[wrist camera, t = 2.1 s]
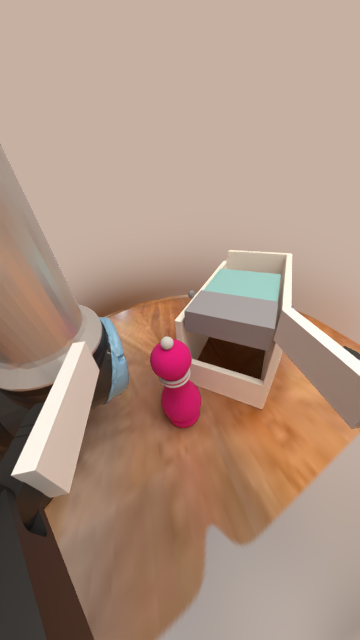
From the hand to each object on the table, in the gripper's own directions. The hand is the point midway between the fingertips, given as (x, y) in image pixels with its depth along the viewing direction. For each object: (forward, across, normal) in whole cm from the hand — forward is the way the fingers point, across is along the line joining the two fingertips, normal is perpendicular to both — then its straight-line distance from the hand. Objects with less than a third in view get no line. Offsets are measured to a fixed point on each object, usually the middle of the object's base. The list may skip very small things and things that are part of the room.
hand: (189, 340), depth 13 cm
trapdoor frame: (+27, +17, -28) cm, 42 cm away
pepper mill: (+10, 0, -28) cm, 30 cm away
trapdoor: (+22, +14, -13) cm, 29 cm away
